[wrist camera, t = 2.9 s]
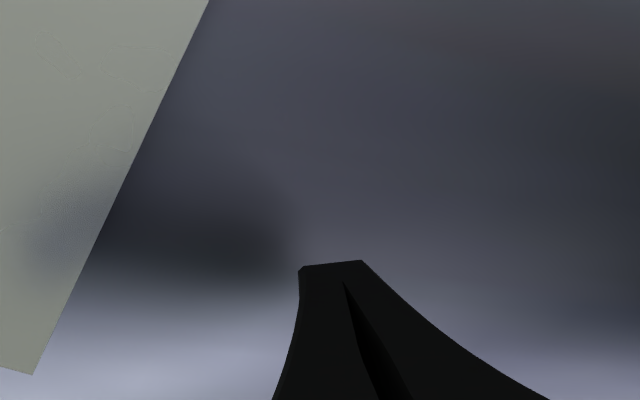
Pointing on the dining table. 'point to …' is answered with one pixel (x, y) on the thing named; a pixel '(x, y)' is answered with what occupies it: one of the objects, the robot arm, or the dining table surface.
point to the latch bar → (71, 140)
